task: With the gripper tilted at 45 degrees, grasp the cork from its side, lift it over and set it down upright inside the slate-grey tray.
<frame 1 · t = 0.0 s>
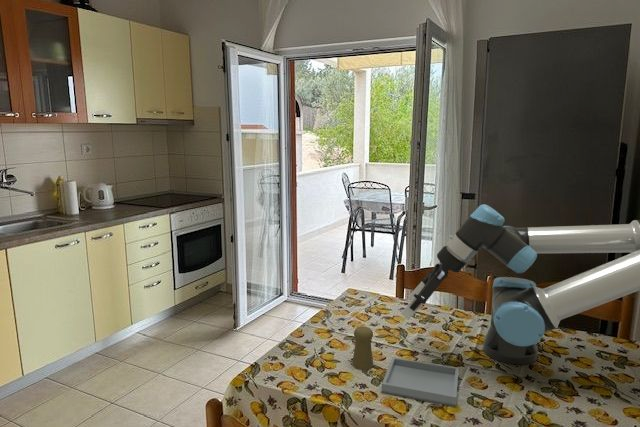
hand: (408, 307, 128), 15 cm above the table, tool tilted 35°, fingers open, 13 cm apart
cork: (362, 365, 126), on the table
tray: (421, 384, 115), on the table
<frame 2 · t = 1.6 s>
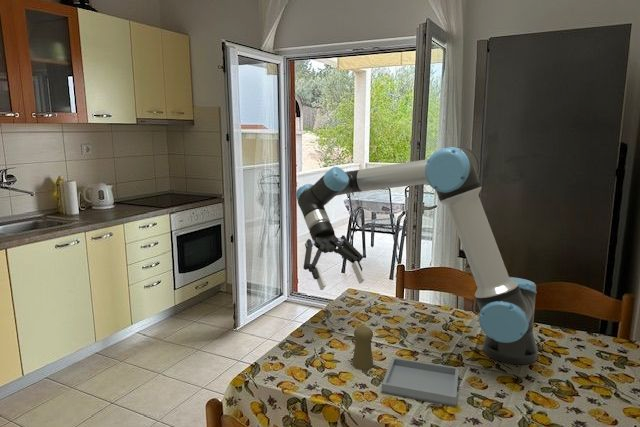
hand: (343, 284, 132), 21 cm above the table, tool tilted 45°, fingers open, 13 cm apart
nothing on the table moved.
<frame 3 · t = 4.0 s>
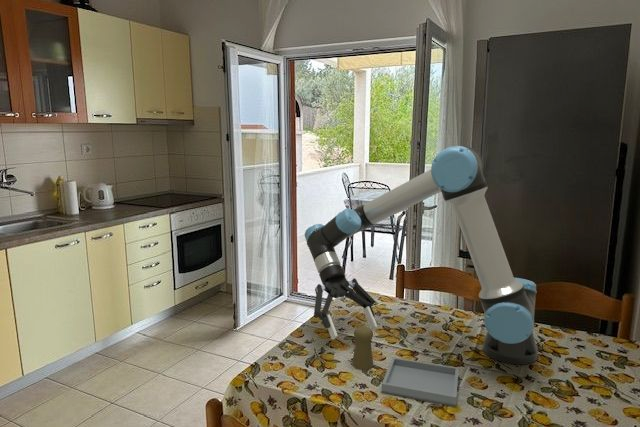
hand: (355, 333, 127), 8 cm above the table, tool tilted 45°, fingers open, 13 cm apart
nothing on the table moved.
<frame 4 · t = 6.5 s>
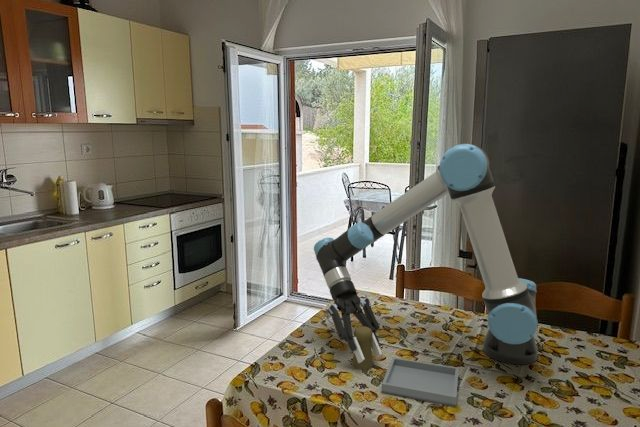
hand: (370, 358, 122), 4 cm above the table, tool tilted 45°, fingers closed on cork, 5 cm apart
cork: (362, 365, 126), on the table, touching gripper
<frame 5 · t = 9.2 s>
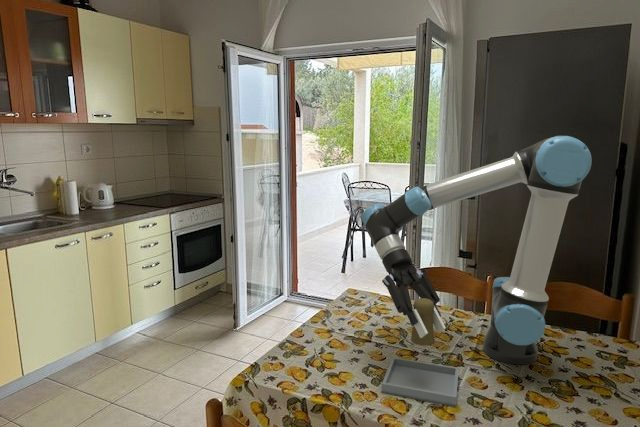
hand: (433, 332, 110), 16 cm above the table, tool tilted 45°, fingers closed on cork, 5 cm apart
cork: (422, 341, 114), point 12 cm above the table, touching gripper
when the fingers open (5 cm above the table, at t = 11.8 s): cork drops 1 cm, resting on tray.
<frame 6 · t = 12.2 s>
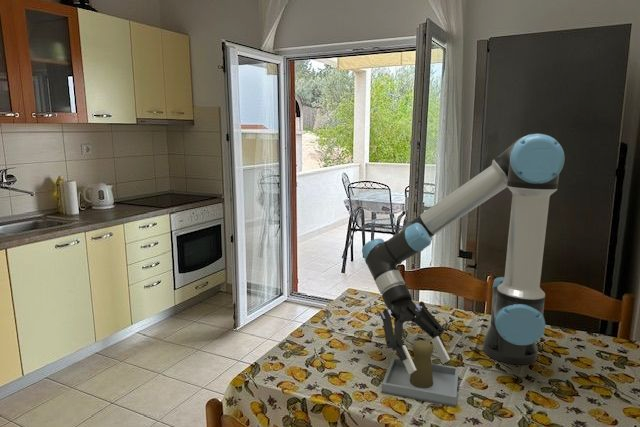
hand: (429, 366, 112), 6 cm above the table, tool tilted 45°, fingers open, 10 cm apart
cork: (421, 382, 115), resting on tray
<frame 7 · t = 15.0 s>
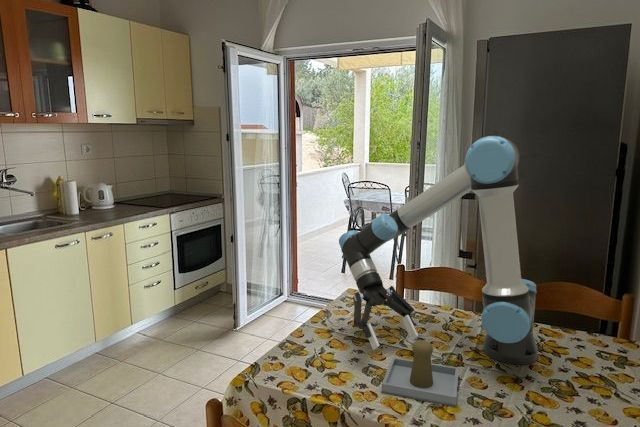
hand: (396, 342, 123), 7 cm above the table, tool tilted 45°, fingers open, 13 cm apart
nothing on the table moved.
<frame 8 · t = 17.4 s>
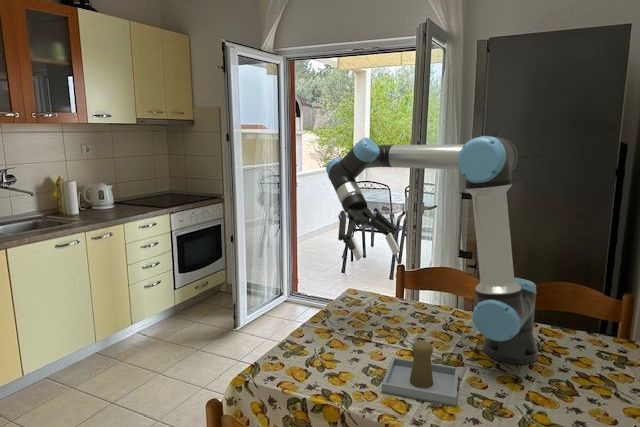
hand: (378, 255, 130), 30 cm above the table, tool tilted 45°, fingers open, 13 cm apart
nothing on the table moved.
at the end: cork inside the target area on the tray (0.0 cm from its centre), point 0.4 cm above the tray's base; cork tilted 0°; the gripper is holding nothing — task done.
